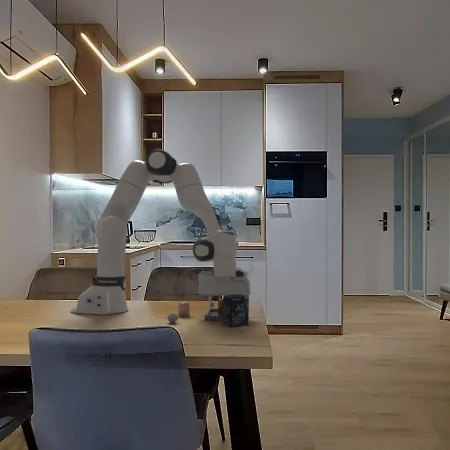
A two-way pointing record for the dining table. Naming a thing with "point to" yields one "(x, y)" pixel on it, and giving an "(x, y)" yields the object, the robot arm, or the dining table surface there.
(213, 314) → the slate tray
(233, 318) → the box
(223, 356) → the dining table surface
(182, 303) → the wooden block
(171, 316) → the grey ball
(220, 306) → the walnut cube
